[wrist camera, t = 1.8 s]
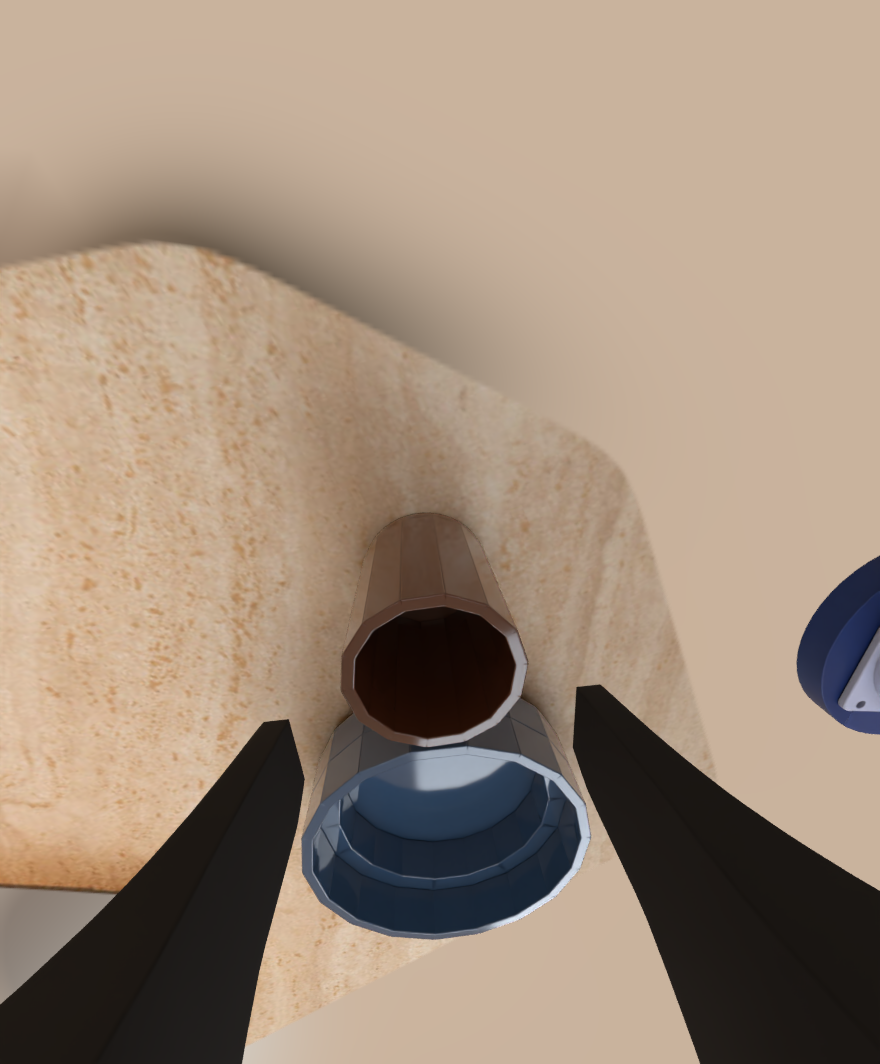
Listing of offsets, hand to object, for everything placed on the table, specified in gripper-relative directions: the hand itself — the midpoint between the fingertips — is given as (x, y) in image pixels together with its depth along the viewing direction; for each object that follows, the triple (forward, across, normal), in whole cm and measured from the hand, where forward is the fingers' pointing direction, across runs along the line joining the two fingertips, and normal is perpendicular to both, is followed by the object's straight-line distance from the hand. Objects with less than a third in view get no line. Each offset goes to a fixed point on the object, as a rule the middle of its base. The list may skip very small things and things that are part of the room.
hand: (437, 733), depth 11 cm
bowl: (+9, 0, +12) cm, 15 cm away
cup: (+9, 0, 0) cm, 9 cm away
